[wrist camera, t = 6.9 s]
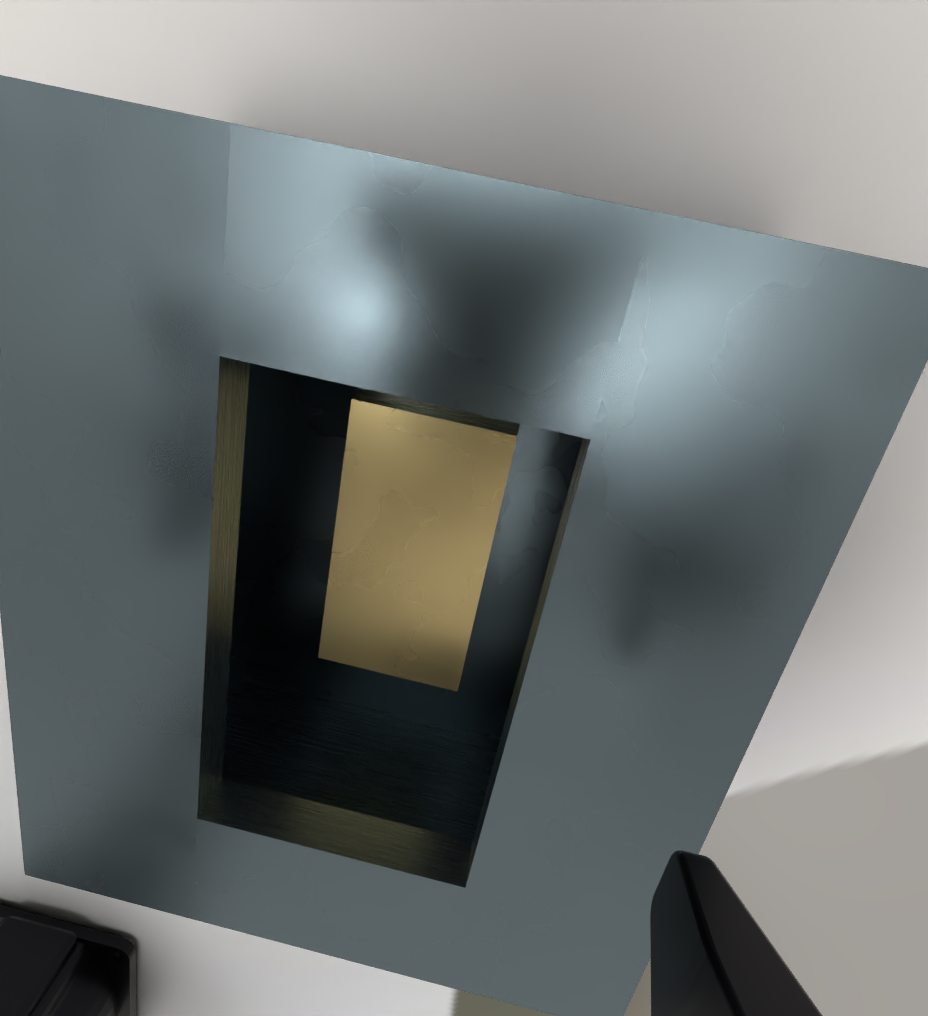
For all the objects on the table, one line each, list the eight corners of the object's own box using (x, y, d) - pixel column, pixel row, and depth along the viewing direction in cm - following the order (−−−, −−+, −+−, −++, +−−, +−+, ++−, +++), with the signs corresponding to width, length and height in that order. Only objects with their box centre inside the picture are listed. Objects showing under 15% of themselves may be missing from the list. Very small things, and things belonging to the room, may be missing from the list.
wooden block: (471, 630, 17) (457, 691, 15) (349, 601, 18) (318, 657, 15) (524, 404, 15) (517, 436, 13) (383, 373, 15) (351, 398, 13)
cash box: (598, 767, 20) (616, 1031, 13) (196, 667, 20) (24, 874, 14) (780, 254, 14) (966, 276, 8) (219, 136, 15) (-52, 64, 8)
